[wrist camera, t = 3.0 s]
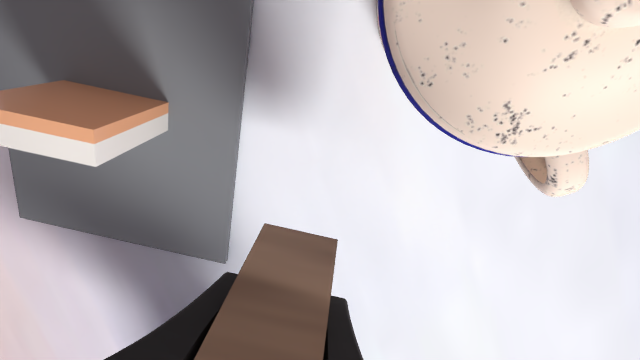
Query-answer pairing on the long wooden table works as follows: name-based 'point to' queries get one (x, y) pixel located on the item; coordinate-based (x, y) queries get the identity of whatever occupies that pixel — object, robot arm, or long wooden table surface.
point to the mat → (146, 81)
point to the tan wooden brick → (276, 300)
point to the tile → (78, 121)
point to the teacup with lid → (521, 76)
